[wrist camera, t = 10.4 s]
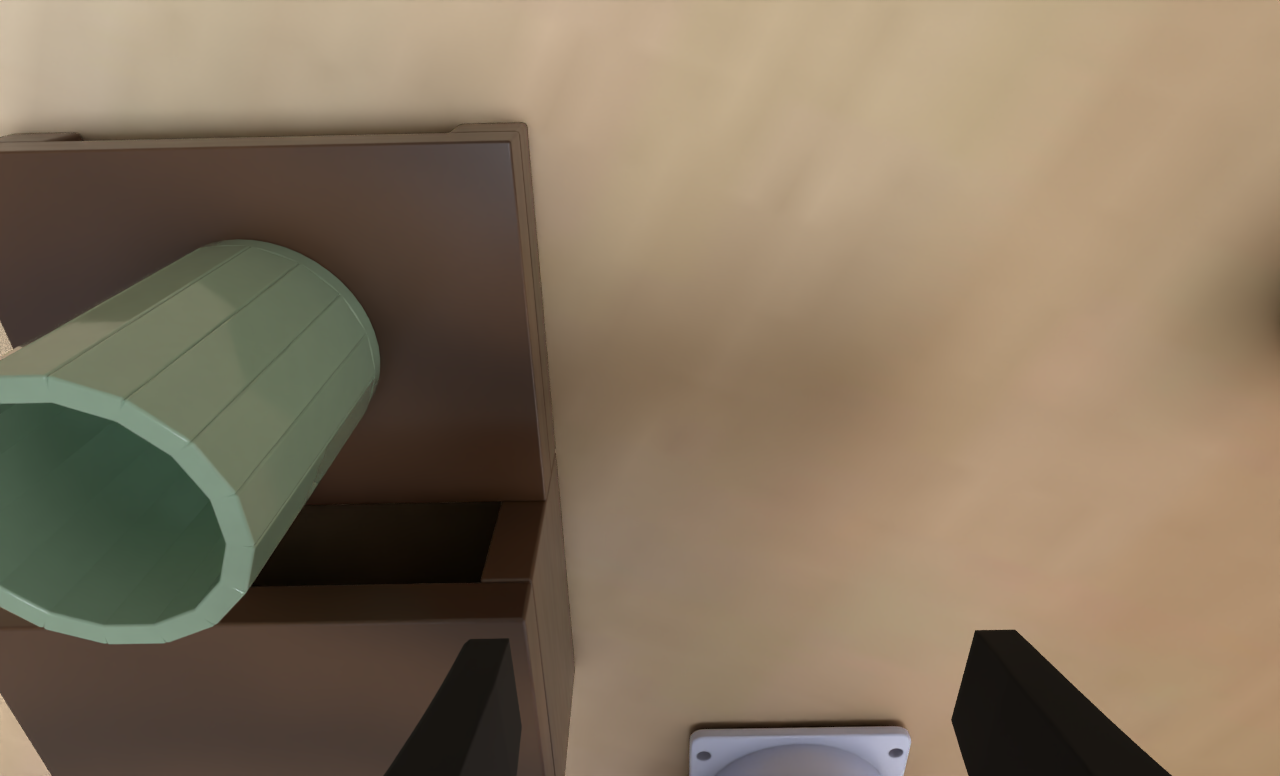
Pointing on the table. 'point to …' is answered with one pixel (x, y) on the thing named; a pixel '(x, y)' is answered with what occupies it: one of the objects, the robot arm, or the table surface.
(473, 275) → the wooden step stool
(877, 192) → the table surface
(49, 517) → the pencil cup
